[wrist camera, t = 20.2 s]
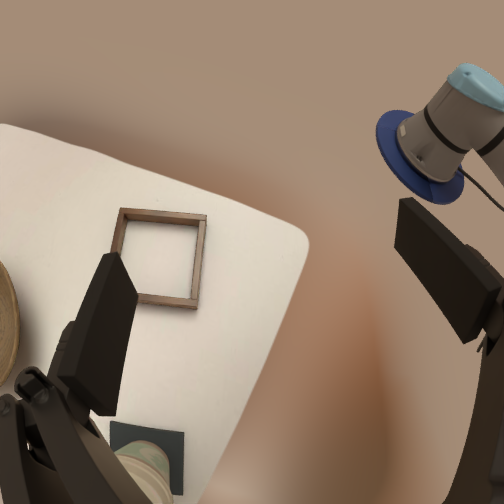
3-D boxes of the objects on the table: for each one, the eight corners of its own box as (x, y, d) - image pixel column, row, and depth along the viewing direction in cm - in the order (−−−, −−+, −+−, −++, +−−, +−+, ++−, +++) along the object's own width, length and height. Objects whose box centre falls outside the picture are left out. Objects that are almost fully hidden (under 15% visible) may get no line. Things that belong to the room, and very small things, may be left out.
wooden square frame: (206, 221, 39) (206, 214, 37) (197, 309, 35) (196, 306, 34) (123, 214, 38) (119, 207, 36) (107, 298, 34) (102, 295, 32)
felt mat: (184, 432, 30) (183, 433, 30) (183, 493, 27) (182, 495, 27) (111, 420, 29) (109, 421, 29) (112, 481, 26) (111, 483, 26)
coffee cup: (183, 491, 27) (176, 542, 16) (116, 485, 26) (85, 529, 15) (177, 431, 30) (165, 467, 19) (108, 426, 29) (68, 453, 17)
